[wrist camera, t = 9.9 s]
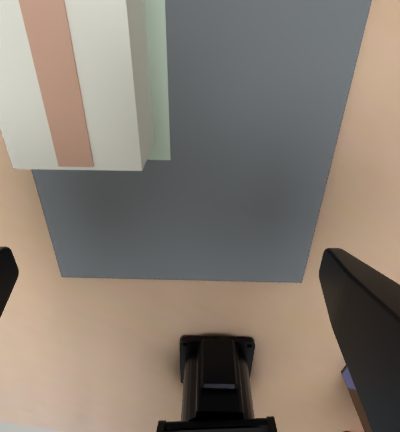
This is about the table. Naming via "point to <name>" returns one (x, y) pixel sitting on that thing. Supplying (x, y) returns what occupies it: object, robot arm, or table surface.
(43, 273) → the table surface
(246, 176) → the rubber mat
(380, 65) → the table surface
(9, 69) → the card deck
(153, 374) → the table surface
